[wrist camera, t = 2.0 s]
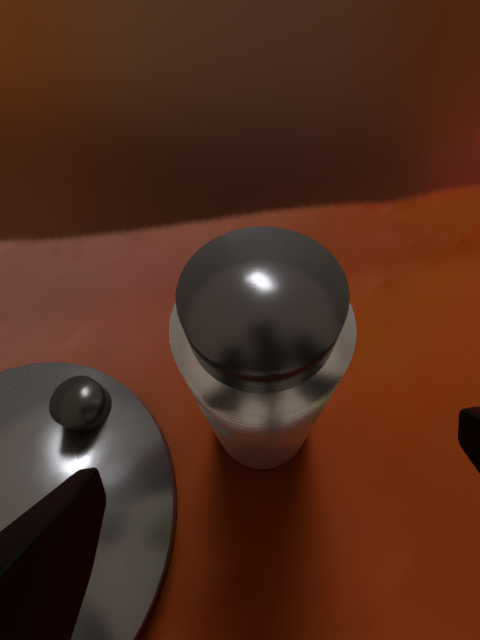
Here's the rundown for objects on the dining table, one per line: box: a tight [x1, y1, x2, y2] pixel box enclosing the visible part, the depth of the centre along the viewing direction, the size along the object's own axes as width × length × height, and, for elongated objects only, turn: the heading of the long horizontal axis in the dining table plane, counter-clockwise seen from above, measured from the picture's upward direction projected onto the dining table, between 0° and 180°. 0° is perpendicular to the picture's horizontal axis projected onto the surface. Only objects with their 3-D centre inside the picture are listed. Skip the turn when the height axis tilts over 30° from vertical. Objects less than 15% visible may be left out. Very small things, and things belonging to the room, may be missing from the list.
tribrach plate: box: [0, 362, 177, 640], centre depth 16 cm, size 16×16×2 cm
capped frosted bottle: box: [169, 226, 356, 469], centre depth 13 cm, size 5×5×12 cm
